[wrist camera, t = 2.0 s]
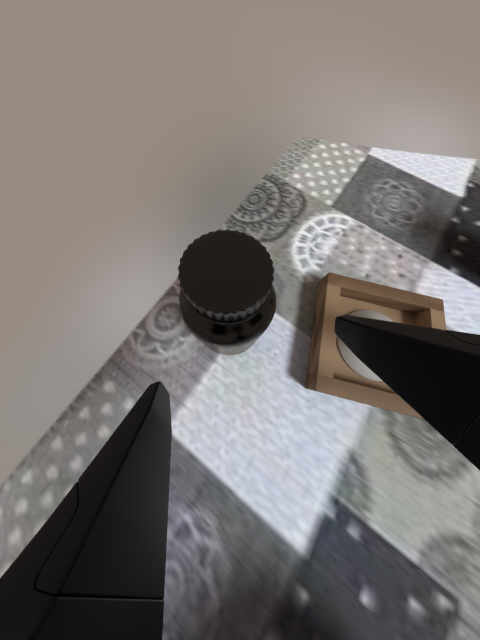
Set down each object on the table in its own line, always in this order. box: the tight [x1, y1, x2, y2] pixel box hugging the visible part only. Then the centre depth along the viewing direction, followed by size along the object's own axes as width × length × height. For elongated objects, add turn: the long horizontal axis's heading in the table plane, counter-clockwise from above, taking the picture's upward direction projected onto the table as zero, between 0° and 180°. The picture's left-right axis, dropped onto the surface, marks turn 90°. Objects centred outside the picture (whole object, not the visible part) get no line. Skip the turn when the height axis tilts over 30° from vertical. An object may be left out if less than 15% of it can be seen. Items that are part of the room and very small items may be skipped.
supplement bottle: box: [178, 230, 276, 355], centre depth 14 cm, size 7×7×12 cm
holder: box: [305, 273, 446, 419], centre depth 19 cm, size 13×13×2 cm
